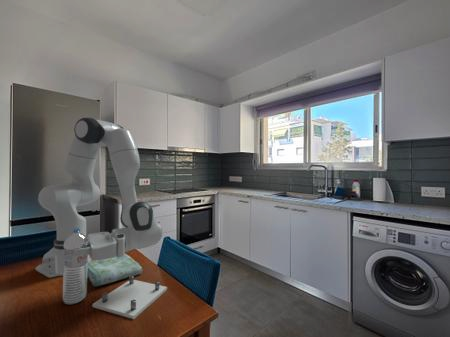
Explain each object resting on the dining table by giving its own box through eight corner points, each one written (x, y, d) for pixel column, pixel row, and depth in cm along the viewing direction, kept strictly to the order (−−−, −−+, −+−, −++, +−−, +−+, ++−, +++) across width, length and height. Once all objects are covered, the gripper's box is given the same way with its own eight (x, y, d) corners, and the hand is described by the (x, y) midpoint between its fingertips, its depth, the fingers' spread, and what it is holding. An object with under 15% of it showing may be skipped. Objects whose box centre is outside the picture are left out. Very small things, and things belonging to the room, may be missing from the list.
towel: (125, 260, 107) (126, 249, 107) (142, 275, 92) (142, 263, 92) (83, 271, 95) (83, 260, 95) (94, 291, 80) (94, 278, 80)
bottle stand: (92, 306, 70) (92, 296, 70) (131, 281, 86) (131, 272, 86) (133, 319, 64) (133, 307, 64) (166, 289, 80) (167, 280, 80)
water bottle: (83, 288, 78) (84, 223, 75) (89, 298, 74) (92, 230, 71) (60, 297, 73) (61, 228, 70) (66, 308, 69) (67, 235, 66)
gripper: (113, 226, 87) (71, 231, 79) (124, 239, 71) (74, 248, 63) (112, 241, 87) (71, 248, 79) (124, 258, 71) (73, 269, 63)
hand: (72, 248), depth 71 cm, fingers closed on water bottle, 6 cm apart
